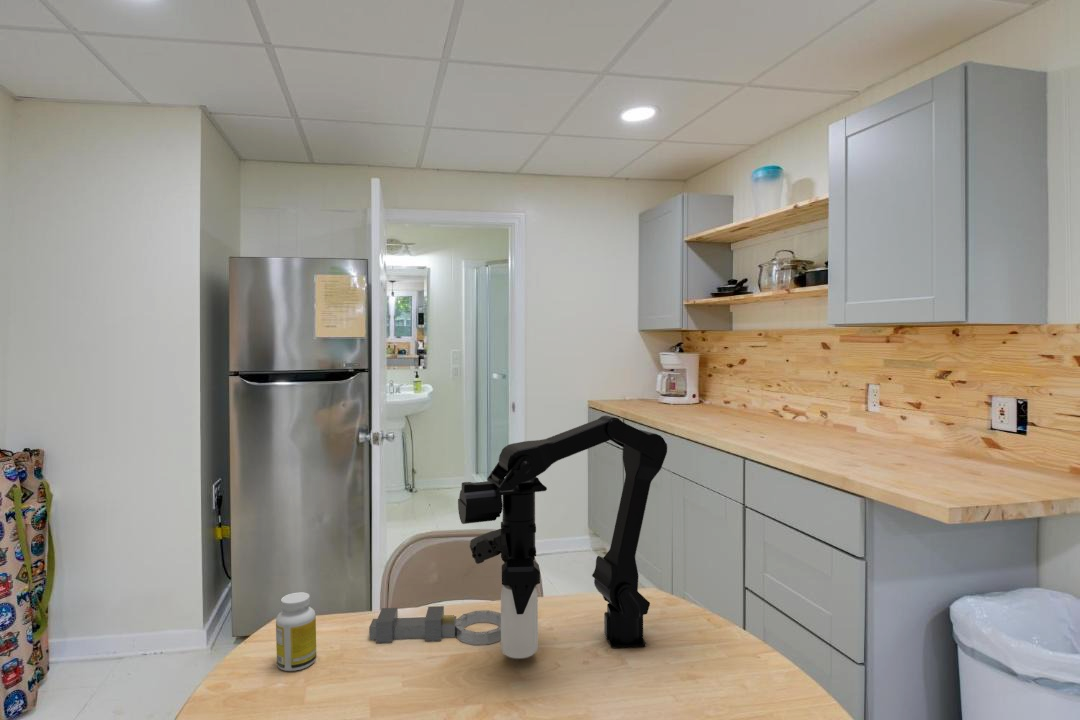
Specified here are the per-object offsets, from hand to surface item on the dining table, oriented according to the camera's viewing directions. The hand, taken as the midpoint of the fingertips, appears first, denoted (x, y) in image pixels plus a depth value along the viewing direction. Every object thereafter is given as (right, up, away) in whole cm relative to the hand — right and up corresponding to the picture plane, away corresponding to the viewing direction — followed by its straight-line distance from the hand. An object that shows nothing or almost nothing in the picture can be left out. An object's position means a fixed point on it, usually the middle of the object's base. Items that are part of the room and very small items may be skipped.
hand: (519, 605), depth 107 cm
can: (0, -8, 0) cm, 8 cm away
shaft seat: (-16, -10, +10) cm, 21 cm away
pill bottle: (-39, -10, 0) cm, 40 cm away
